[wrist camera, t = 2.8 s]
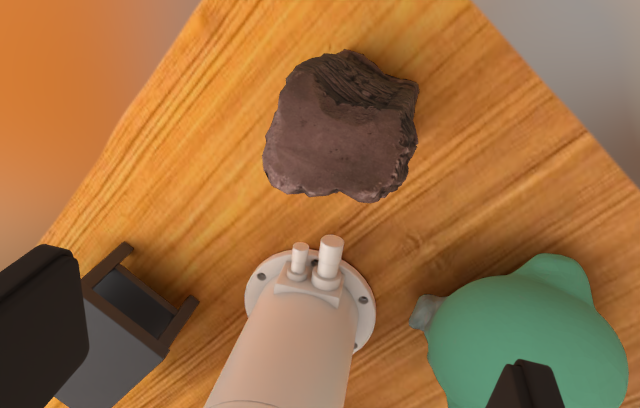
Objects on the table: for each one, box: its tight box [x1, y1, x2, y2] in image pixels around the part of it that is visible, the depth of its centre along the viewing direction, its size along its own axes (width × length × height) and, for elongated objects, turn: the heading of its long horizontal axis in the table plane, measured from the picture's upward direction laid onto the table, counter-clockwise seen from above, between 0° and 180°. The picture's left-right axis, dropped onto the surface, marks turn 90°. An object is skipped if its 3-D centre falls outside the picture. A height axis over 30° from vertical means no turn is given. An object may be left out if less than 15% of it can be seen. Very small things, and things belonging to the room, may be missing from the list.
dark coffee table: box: [54, 241, 199, 408], centre depth 45 cm, size 14×10×8 cm
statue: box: [262, 49, 419, 203], centre depth 25 cm, size 7×7×20 cm
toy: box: [409, 253, 629, 408], centre depth 35 cm, size 18×12×15 cm
